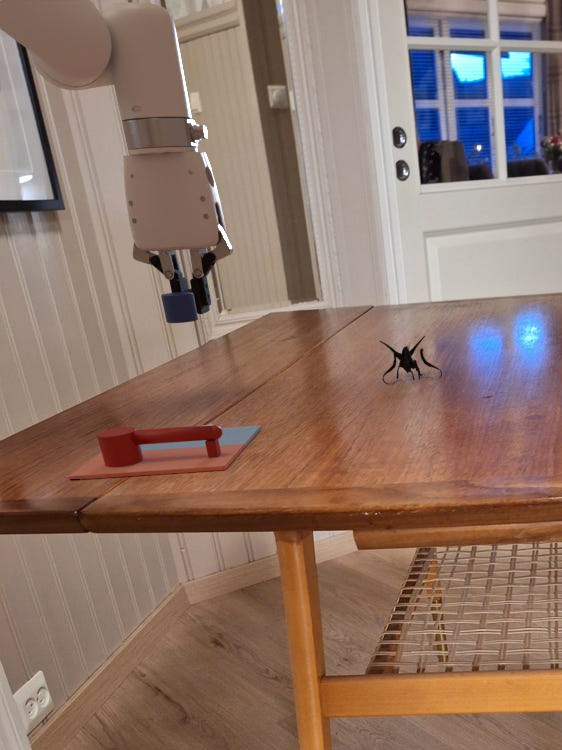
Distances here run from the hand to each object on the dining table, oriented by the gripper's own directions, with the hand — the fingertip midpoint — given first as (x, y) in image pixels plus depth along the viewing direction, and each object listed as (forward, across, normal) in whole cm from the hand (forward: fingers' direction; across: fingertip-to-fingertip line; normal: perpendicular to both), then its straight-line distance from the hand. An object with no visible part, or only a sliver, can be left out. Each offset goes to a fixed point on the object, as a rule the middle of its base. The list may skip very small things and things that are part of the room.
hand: (194, 312), depth 106 cm
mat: (+11, -3, +25) cm, 28 cm away
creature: (+10, -26, -3) cm, 28 cm away
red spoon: (+10, -4, +29) cm, 31 cm away
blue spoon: (0, 0, +1) cm, 1 cm away
